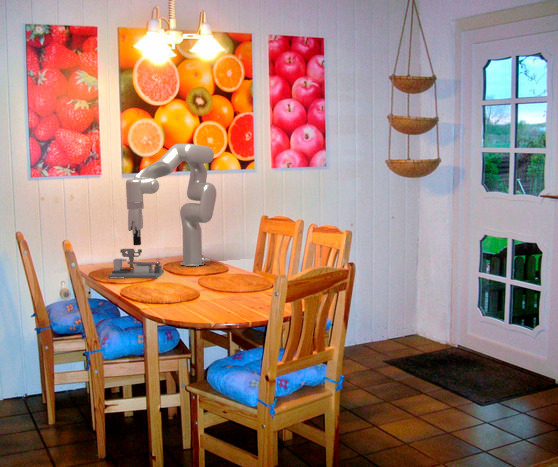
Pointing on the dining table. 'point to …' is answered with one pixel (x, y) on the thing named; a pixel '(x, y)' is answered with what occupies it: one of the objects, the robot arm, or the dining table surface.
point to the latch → (118, 264)
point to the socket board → (130, 274)
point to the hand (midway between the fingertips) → (137, 244)
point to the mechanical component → (130, 254)
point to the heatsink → (142, 269)
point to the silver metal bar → (145, 263)
